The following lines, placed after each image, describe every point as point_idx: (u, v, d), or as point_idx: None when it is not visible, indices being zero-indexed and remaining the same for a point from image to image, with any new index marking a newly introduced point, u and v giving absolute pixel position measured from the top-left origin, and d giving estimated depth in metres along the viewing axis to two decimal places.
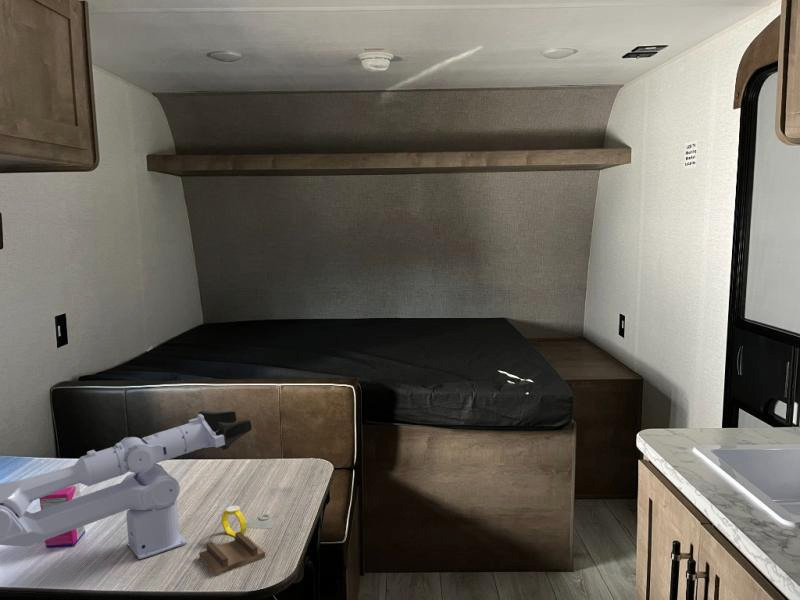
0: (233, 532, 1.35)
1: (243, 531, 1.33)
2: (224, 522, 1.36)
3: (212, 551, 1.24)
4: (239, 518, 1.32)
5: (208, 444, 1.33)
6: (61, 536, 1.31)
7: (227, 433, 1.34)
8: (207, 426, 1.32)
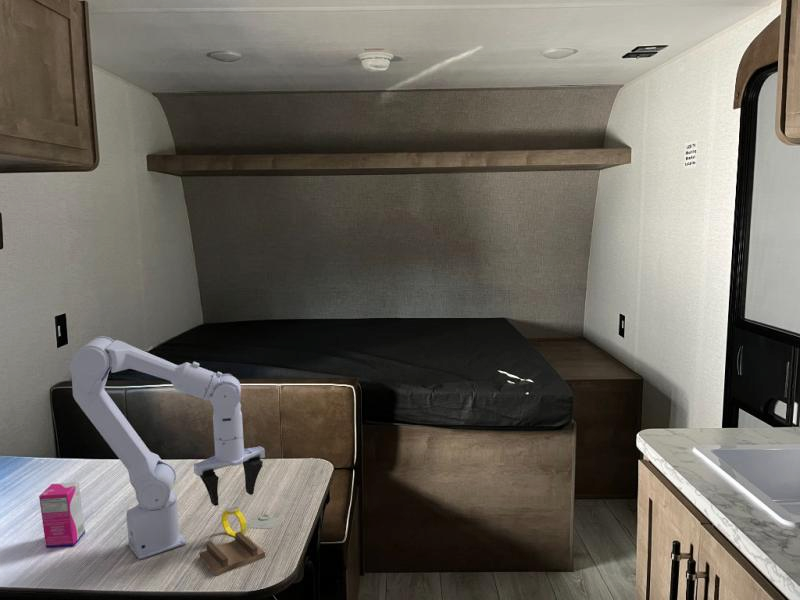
0: (233, 532, 1.35)
1: (243, 531, 1.33)
2: (224, 522, 1.36)
3: (212, 551, 1.24)
4: (239, 518, 1.32)
5: (214, 457, 1.32)
6: (61, 536, 1.31)
7: None
8: (221, 465, 1.29)
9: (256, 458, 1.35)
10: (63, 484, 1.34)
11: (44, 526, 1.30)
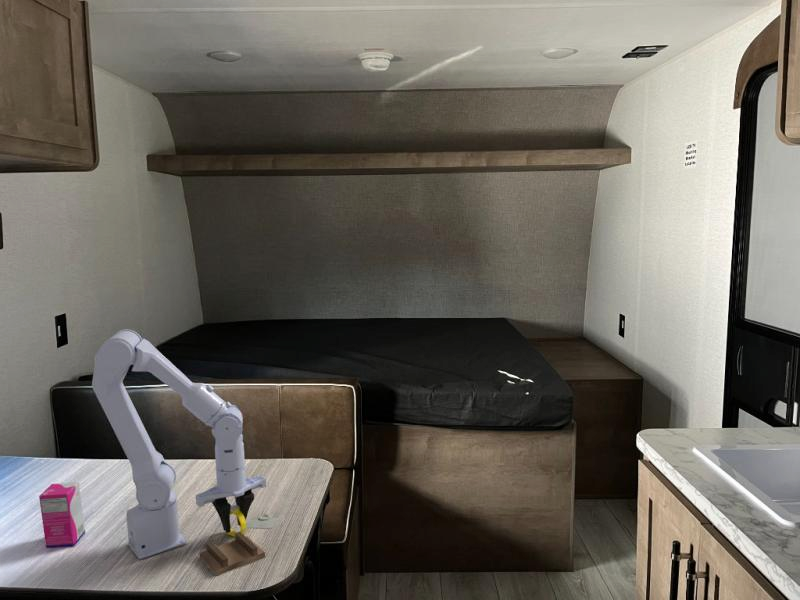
0: (233, 532, 1.35)
1: (243, 531, 1.33)
2: None
3: (212, 551, 1.24)
4: (239, 518, 1.32)
5: (216, 487, 1.33)
6: (61, 536, 1.31)
7: None
8: (222, 496, 1.30)
9: (248, 491, 1.35)
10: (64, 484, 1.34)
11: (44, 526, 1.30)
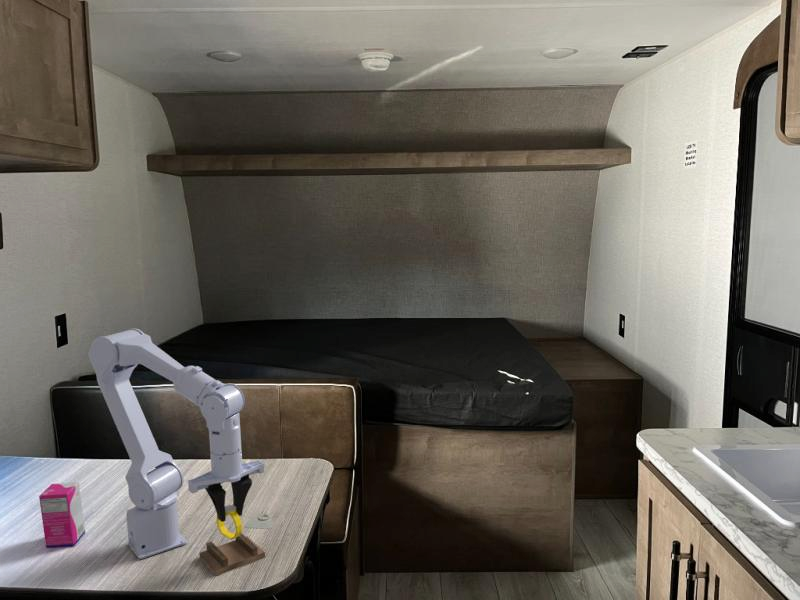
0: (228, 533, 1.26)
1: (238, 534, 1.24)
2: (219, 521, 1.27)
3: (212, 551, 1.24)
4: (235, 520, 1.23)
5: (210, 473, 1.23)
6: (61, 536, 1.31)
7: None
8: (217, 481, 1.20)
9: (245, 476, 1.25)
10: (64, 484, 1.34)
11: (44, 526, 1.30)
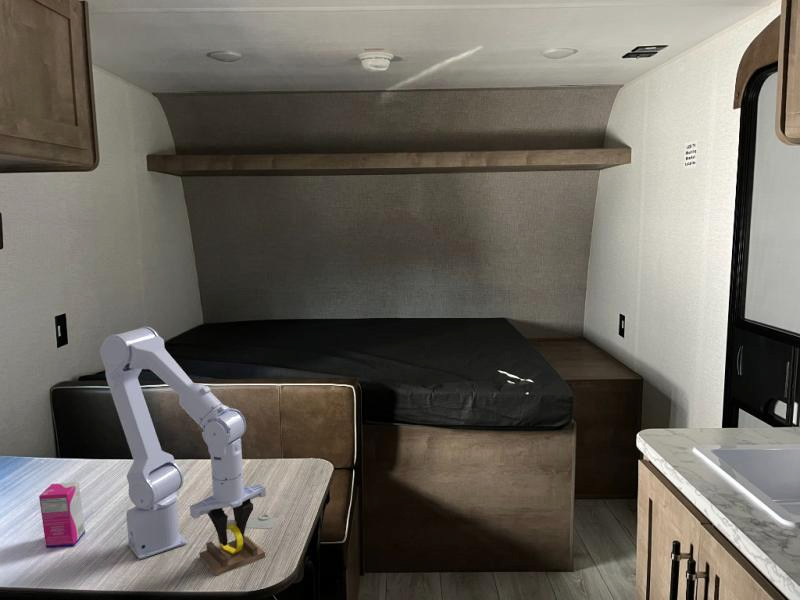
0: (229, 548, 1.27)
1: (239, 547, 1.25)
2: None
3: (212, 551, 1.24)
4: (235, 534, 1.24)
5: (212, 497, 1.24)
6: (61, 536, 1.31)
7: None
8: (219, 506, 1.21)
9: (246, 501, 1.26)
10: (63, 484, 1.34)
11: (44, 526, 1.30)
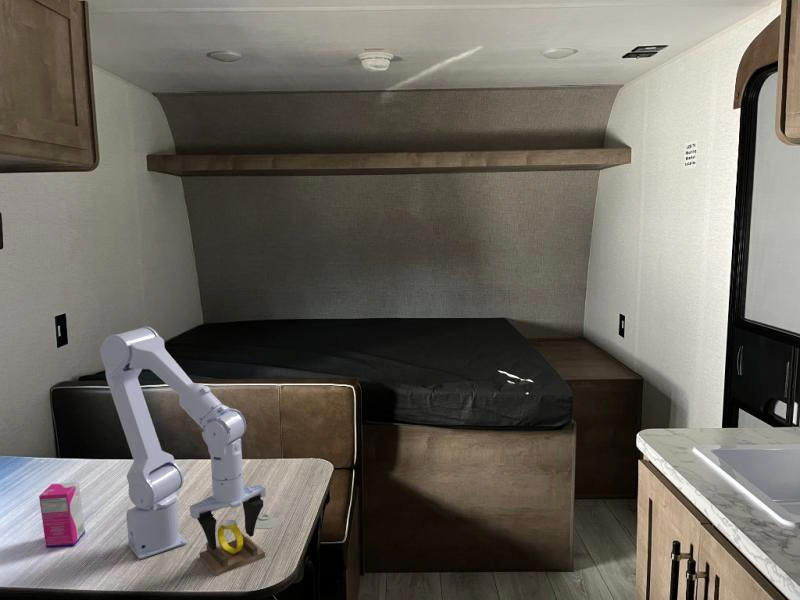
0: (229, 548, 1.27)
1: (239, 547, 1.25)
2: (220, 536, 1.27)
3: (212, 551, 1.24)
4: (235, 534, 1.24)
5: (212, 497, 1.24)
6: (61, 536, 1.31)
7: None
8: (219, 506, 1.21)
9: (256, 497, 1.27)
10: (63, 484, 1.34)
11: (44, 526, 1.30)
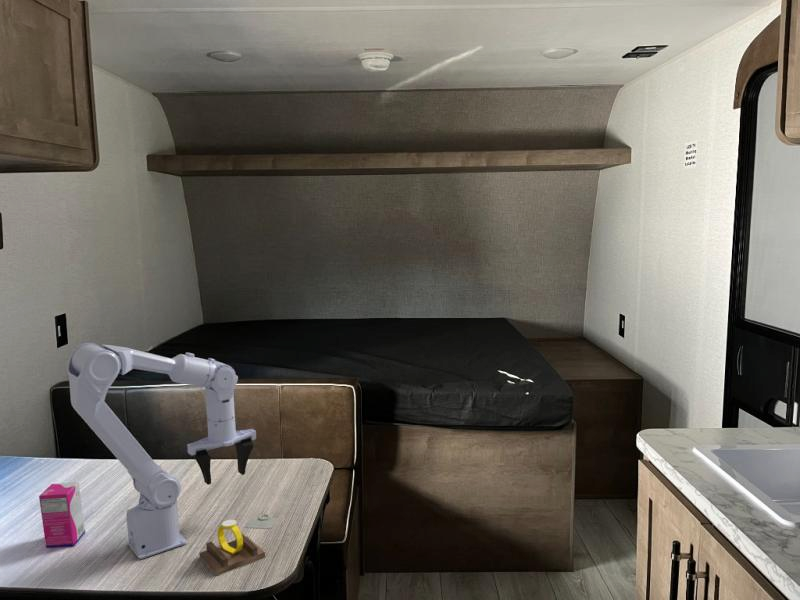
0: (229, 548, 1.27)
1: (239, 547, 1.25)
2: (220, 536, 1.27)
3: (212, 551, 1.24)
4: (235, 534, 1.24)
5: (207, 438, 1.39)
6: (61, 536, 1.31)
7: None
8: (213, 445, 1.35)
9: (247, 440, 1.42)
10: (63, 484, 1.34)
11: (44, 526, 1.30)
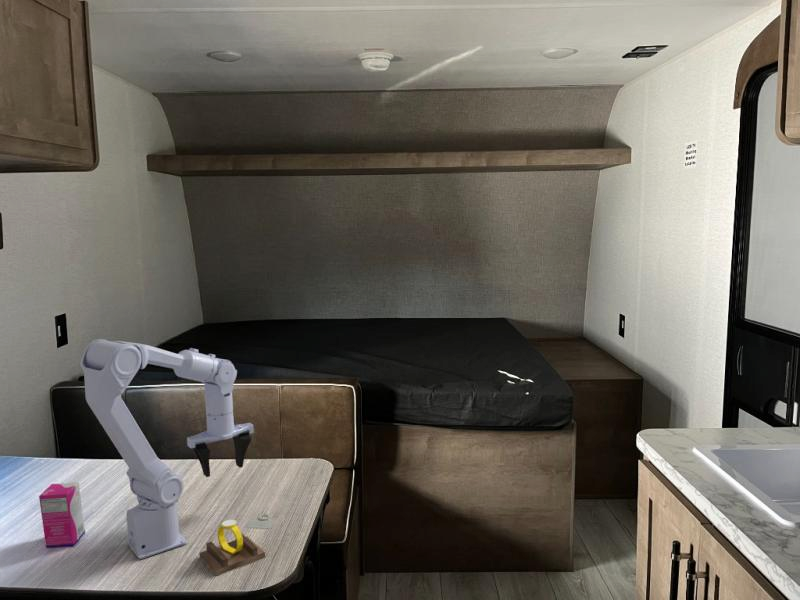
0: (229, 548, 1.27)
1: (239, 547, 1.25)
2: (220, 536, 1.27)
3: (212, 551, 1.24)
4: (235, 534, 1.24)
5: (206, 432, 1.43)
6: (61, 536, 1.31)
7: None
8: (212, 438, 1.39)
9: (245, 433, 1.46)
10: (63, 484, 1.34)
11: (44, 526, 1.30)
